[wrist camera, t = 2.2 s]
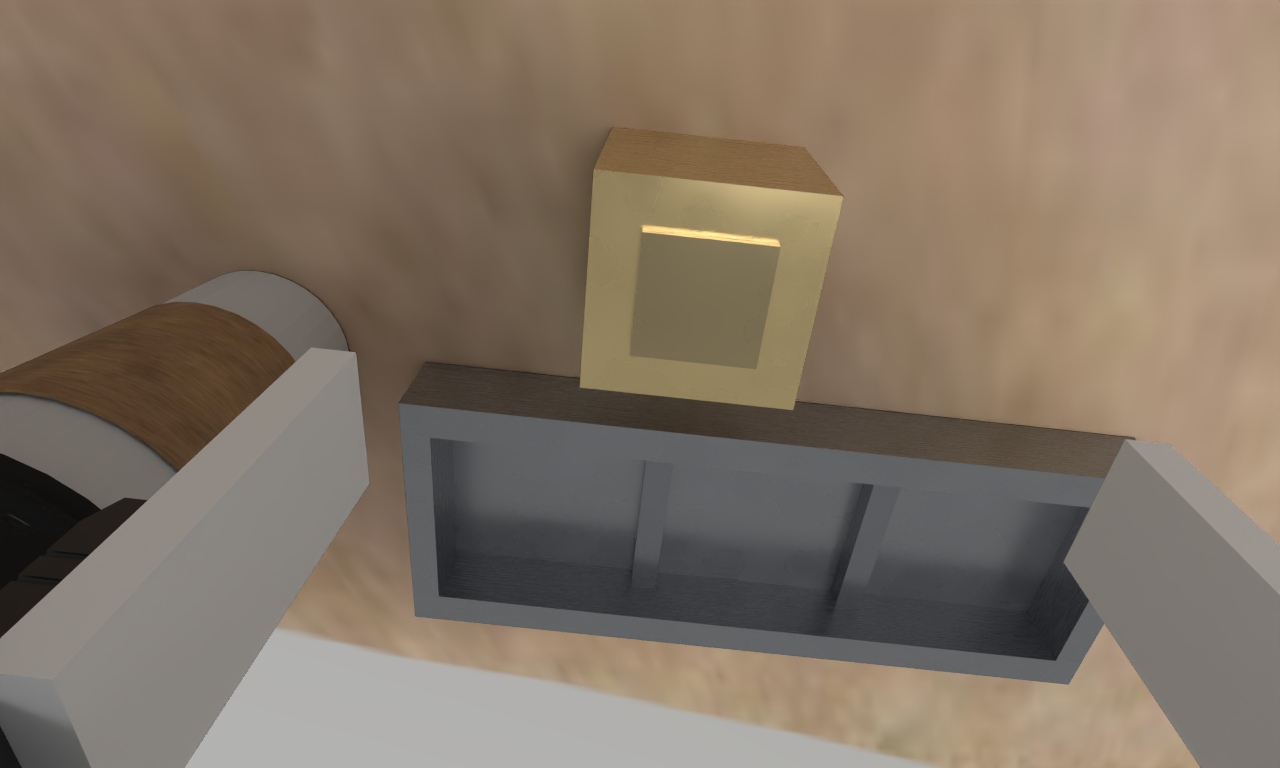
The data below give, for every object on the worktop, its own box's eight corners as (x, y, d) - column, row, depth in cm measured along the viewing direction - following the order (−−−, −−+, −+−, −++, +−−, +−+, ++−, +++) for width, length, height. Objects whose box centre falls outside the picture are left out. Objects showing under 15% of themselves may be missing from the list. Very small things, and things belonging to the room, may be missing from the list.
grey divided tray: (437, 563, 31) (415, 616, 29) (425, 362, 27) (398, 403, 24) (1036, 626, 32) (1068, 684, 29) (1133, 437, 27) (1184, 486, 24)
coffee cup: (113, 245, 25) (-517, 534, 12) (346, 224, 24) (-49, 506, 11) (208, 446, 29) (-183, 829, 16) (410, 433, 28) (177, 823, 15)
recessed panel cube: (599, 304, 25) (578, 393, 20) (613, 126, 22) (592, 171, 17) (769, 322, 25) (794, 415, 20) (804, 147, 22) (846, 199, 17)
